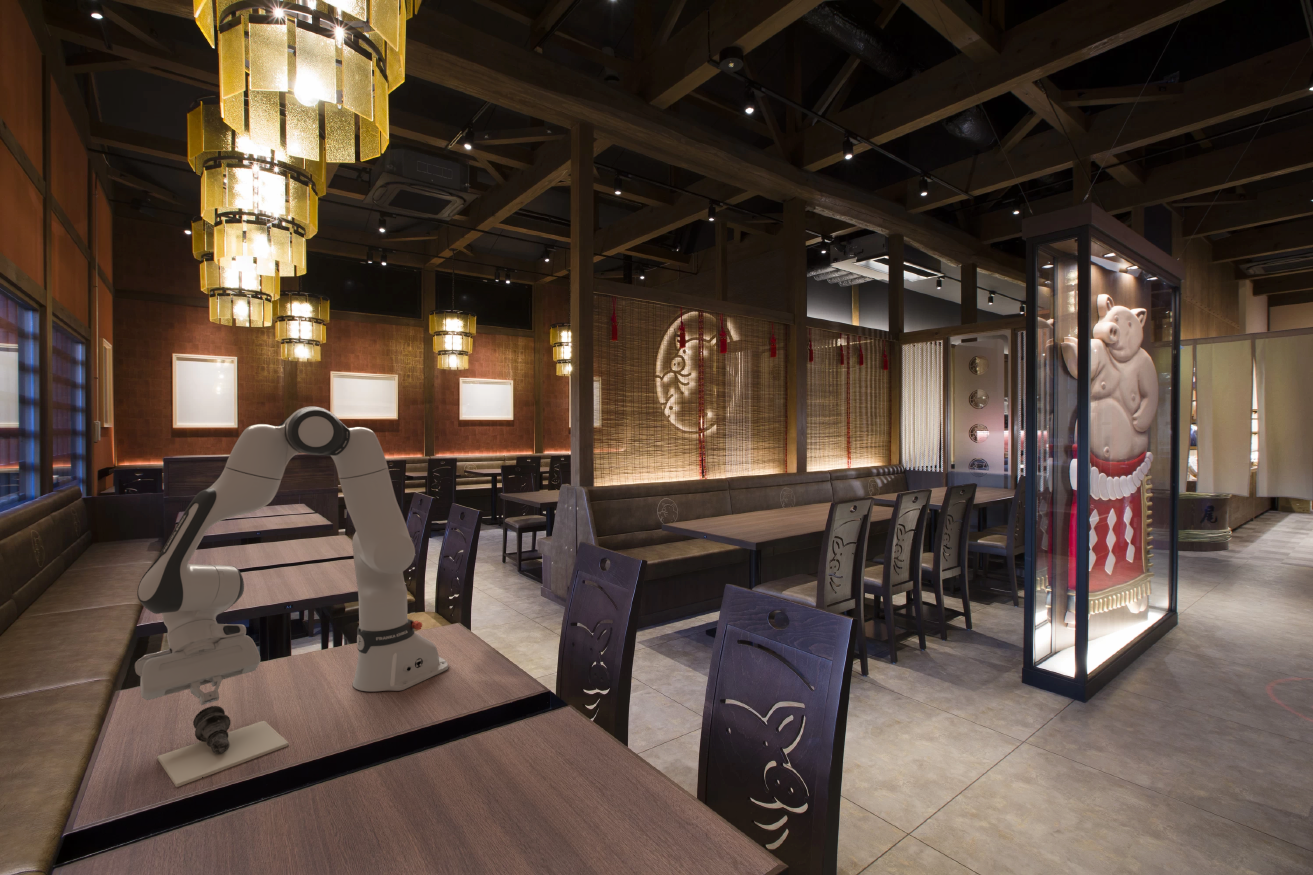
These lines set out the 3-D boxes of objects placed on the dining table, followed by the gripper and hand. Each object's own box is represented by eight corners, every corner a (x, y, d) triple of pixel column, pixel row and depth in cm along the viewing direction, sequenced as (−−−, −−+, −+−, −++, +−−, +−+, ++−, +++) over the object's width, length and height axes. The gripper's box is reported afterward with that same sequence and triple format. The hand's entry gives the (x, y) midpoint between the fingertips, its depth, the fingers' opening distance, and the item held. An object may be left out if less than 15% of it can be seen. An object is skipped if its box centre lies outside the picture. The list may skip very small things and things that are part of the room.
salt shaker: (205, 736, 124) (219, 772, 116) (183, 723, 121) (196, 758, 113) (233, 712, 127) (248, 745, 119) (212, 699, 123) (226, 732, 115)
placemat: (264, 722, 130) (264, 720, 130) (288, 745, 121) (288, 742, 121) (157, 758, 117) (157, 755, 117) (176, 787, 108) (176, 783, 108)
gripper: (135, 649, 121) (147, 712, 115) (253, 623, 137) (269, 677, 131) (130, 665, 124) (142, 728, 118) (246, 638, 140) (262, 692, 134)
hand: (210, 701), depth 124 cm, fingers closed
